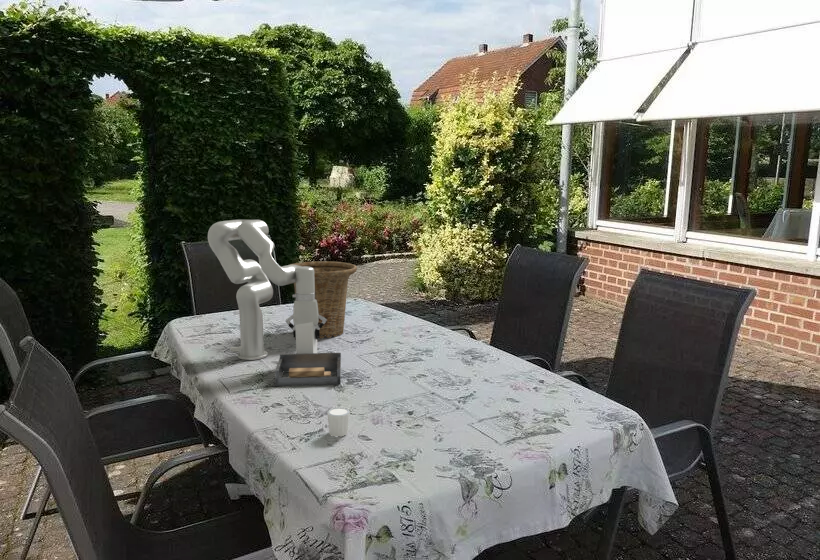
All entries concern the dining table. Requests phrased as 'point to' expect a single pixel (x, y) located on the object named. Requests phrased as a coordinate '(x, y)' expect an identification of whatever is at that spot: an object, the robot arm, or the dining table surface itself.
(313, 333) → the milk carton
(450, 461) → the dining table surface
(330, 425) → the white cylinder
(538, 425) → the dining table surface
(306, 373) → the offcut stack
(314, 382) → the dark grey tray
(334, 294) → the wicker basket
